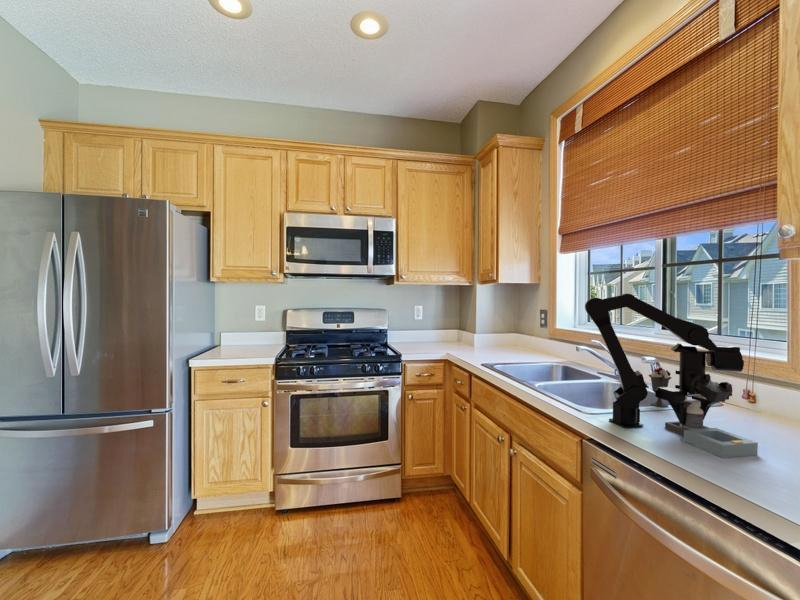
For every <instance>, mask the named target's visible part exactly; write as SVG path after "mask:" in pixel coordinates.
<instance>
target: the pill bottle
mask: <svg viewBox="0 0 800 600" xmlns="http://www.w3.org/2000/svg"><path fill="white" fill-rule="evenodd" d="M687 402H690V403H692V404H691V405H689V406H688V407H687V414H686V423H685V425H682V424H681V423H680V422H679V427H682V428H684V429H687V430H691V429H703V426H704V420H703V410H702V409H700V408H699V407H701V402H700V401H699V400H695V399H692V398H689V397H687Z"/></svg>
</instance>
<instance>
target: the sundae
mask: <svg viewBox="0 0 800 600" xmlns="http://www.w3.org/2000/svg"><path fill="white" fill-rule="evenodd" d="M654 364H655V368H654V371H652V372H651V374H648V377H649V378H650V382H651V388H652V391H653V393H654V394H655V390H656V389H657V388H658V387H669V382H670V380H672V378H673V377H672V376H671V372H670V371H669V370H668V369H666V370H665V369H663V367H661V366H659V364H658V362H655V363H654ZM657 366H658V368H657ZM650 404H651V406H654V407H658V408H668V407H669V405H668V404H666V403H664V402H663V399H660V398H657V400H656V401H654V402H651V403H650Z"/></svg>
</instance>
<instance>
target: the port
mask: <svg viewBox="0 0 800 600" xmlns="http://www.w3.org/2000/svg"><path fill="white" fill-rule="evenodd" d="M683 442H684V443H687V444H689V445H691V446H695V447H696V448H698V449H701V450H704V451H706V452H708V453H711V454H713V455H715V456H717V457H720V458H722V459H728V458H738V457H739V458H741V457H747V456H748V457H749V456H750V457H751V456H758V453H759V452H758V450H759V446H758V445H759V444H758V443H759V442H757V441H754V440H752V439H748V438H747V437H743V436H742V435H741V436H740V435H738V434H735V433H732V432H729V431H726V430H723V429H721V428H718V427H709V428H704V429H691V430H684V435H683Z"/></svg>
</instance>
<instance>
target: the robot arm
mask: <svg viewBox="0 0 800 600" xmlns="http://www.w3.org/2000/svg"><path fill="white" fill-rule="evenodd" d="M624 308H627V309H629V310H631V311H633V312H635V313H636V314H638V315H641V316H643V317H645V318H646V319H649V320H650V321H653V322H654V323H656V324H657V325H660V326H662V327H664V328H665V329H666V330H668V331H669V332H670V333H671V334H673V335H674V336H675V337H677V338H678V339H679V340H681V341H682V342H684V343H686V344H689V345H692V346H688V345H683V344H682V343H680V342H678V343H676V344H675V345H674V346H672V347H671V348H670V350H671V351H673V352H674V353H679V368H678V369H679V370H678V369H675V375H678V379H679V380H678V384H677V383H676V384H674V385H675V386H674V388H673V387H670V386H668V387H658V388H657V389H656V390H655V393H654V397H655V398H657V399H658V398H660V399H662V401H663V400H664V401H667V402H668V404H669V406H670V407H671V408H672V410H673V412H674V414H675V416H676V417H677V419H678V421H679V422H680V423H681V424H682V425H685V423H686V414H687V407H688V406H689V405H691V404H692V403H690V402H687V398H691V399H695V400H699V401H700V402H701V407H699V408H700V409H702V410H703V421H704V420H705V419H706V416H707V414H708V412H709V411H710V408H711V406H713V405H715V404H718V403H720V402H722V403H725V402H726V400H727V401H729V400H730V397H732V396H733V385H732V384H731V383H730V382H728V381H721V382H720V383H719V382H717V381H712V379H711V375H710V373H706V365H707V366H708V367H710V368H711V369H712V370H713V371H723V372H735V373H740V372H742V371H743V370H744V366H745V360H744V359H743V355H742V353H741V347H740V346H737V345H736V346H734V345H731V346H726V345H725V346H724V345H723V346H722V345H716V344H715V343H714V341H713V340H712V338H710V334H709V330H708V328H706V327H705V326H704V325H700V324H697V323H694V322H691V321H689V320H688V321H687V320H685V319H681V318H679V317H675V316H673V315H671V314H669V313H667V312H666V311H663V310H661V309H659V308H657V307H655V306H653V305H651V304H650V303H647V302H645V301H643V300H641V299H640V298H637V297H636V296H634V295H633V294H631V293H622V294H620V295H615V296H612V297H606V298H599V297H591V298H589V299H587V301H586V302H585V303H584V309H585V312H586V314H587V315H588V316H589V317H590V319H591V320H592V322H593V323H594V324H595V326H596V327H597V329H598V331H599V333H600V335H601V337H602V339H603V342H604V343H605V346H606V347H607V350H608V352H609V354H610V356H611V358H612V361H613V362H614V365H615V367H616V369H617V374H618V379H619V383H620V386H619V387H618V388H616V389H615V390H614V391H613V392H612V393H613V396H614V398H615V401H613V402H612V418H608V421H610V422H611V423H614V424H616V425H618V426H620V427H623V428H624V429H626V428H638V427H641V428H642V427H644V424H643V423H641V418H640V417H641V408H640V403H641V402H642V401H644V400H645V399H646V398H647V396H648V389H649V388H650V387H649V386H648V385H647V384H646V382H645V377H644V376H643V373H642V372H641V371H640V370H636V371H634V369H633V368H632V367H631V364H630V361H629V360H628V357H627V355H626V353H625V351H624V349H623V347H622V344H621V343H620V340H619V338H618V336H617V334H616V332H615V329H614V327H613V326H612V321H611V317H610V316H611V315H610V312H611V311H615V310H619V309H624ZM697 346H698V347H700V348H703V349H706V350H701V349H698V348H697Z"/></svg>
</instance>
